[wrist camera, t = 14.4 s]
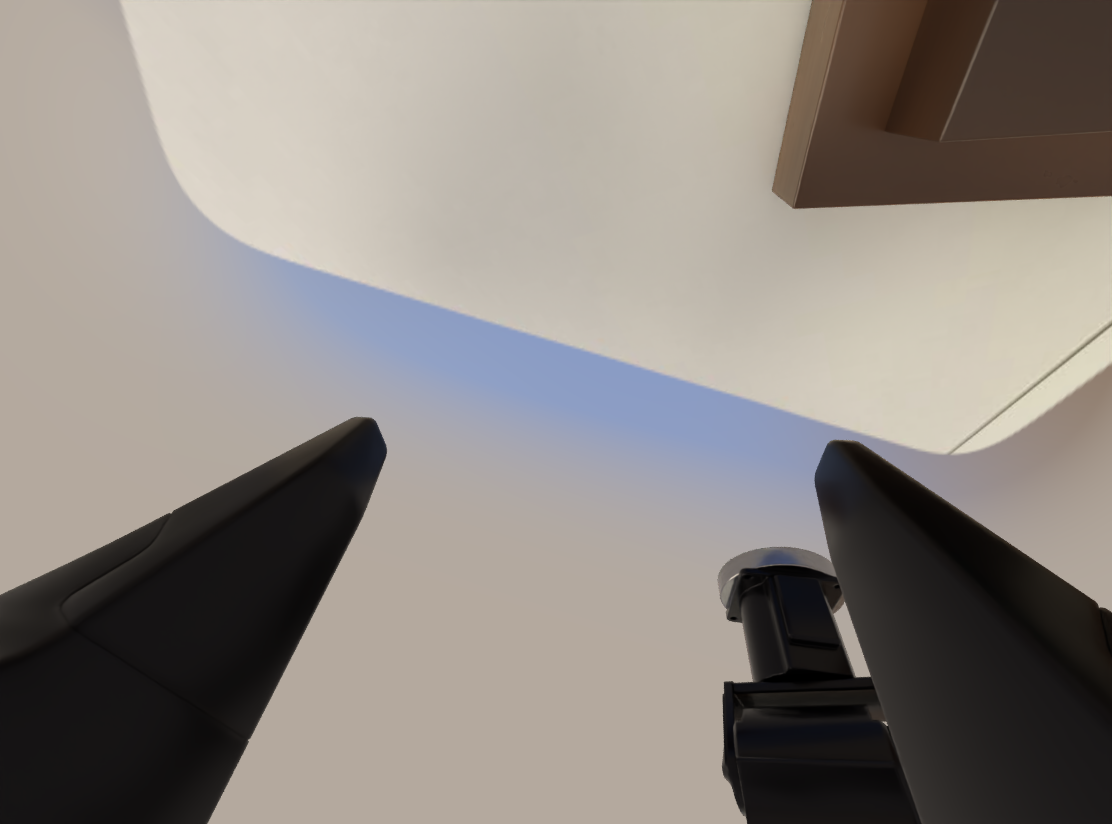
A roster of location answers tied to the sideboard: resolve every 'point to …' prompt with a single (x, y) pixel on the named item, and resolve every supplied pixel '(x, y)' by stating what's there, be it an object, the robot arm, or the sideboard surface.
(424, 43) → the sideboard surface
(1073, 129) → the stand
